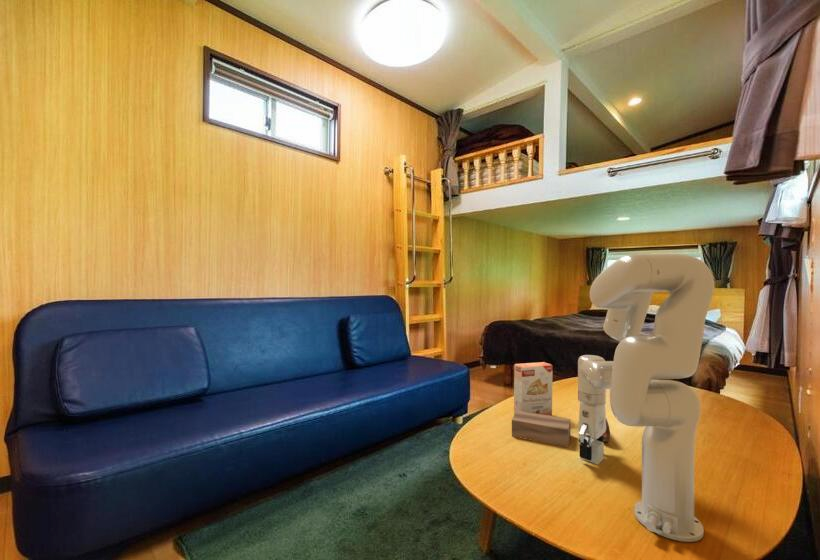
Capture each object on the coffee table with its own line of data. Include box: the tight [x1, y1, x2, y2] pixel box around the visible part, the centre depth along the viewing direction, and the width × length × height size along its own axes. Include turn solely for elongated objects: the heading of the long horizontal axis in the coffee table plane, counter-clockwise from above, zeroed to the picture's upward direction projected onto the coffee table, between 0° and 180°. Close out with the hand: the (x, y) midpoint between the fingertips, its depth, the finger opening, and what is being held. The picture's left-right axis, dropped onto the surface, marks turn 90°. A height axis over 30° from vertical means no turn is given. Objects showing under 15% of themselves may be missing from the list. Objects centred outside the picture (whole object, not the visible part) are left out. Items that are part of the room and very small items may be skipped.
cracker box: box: [513, 361, 554, 416], centre depth 140 cm, size 14×6×21 cm, turn 105°
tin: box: [601, 418, 611, 443], centre depth 123 cm, size 15×3×8 cm, turn 168°
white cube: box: [579, 438, 605, 465], centre depth 108 cm, size 5×5×5 cm
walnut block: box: [511, 410, 571, 448], centre depth 123 cm, size 10×18×6 cm, turn 62°
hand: (591, 452), depth 108 cm, fingers open, 9 cm apart
